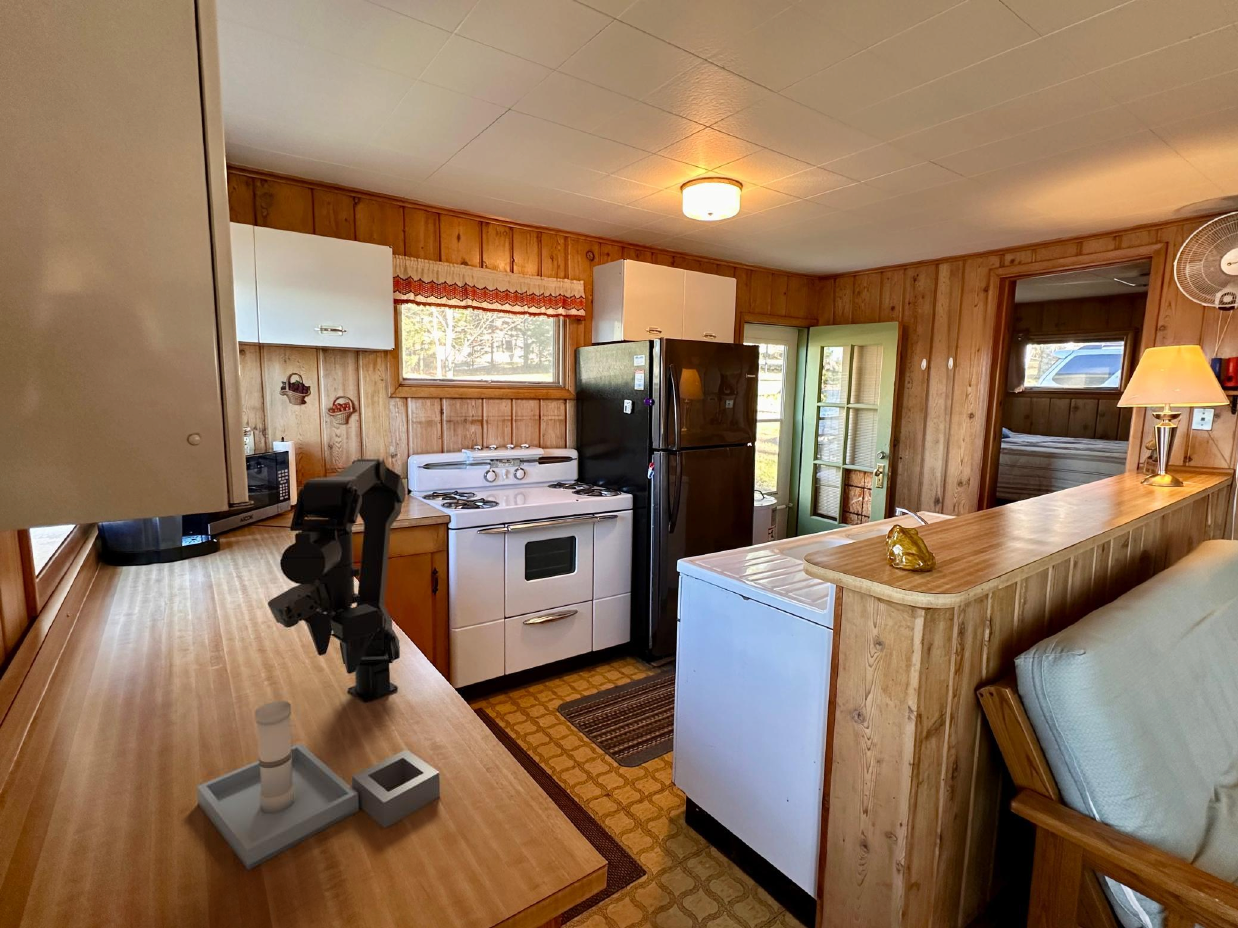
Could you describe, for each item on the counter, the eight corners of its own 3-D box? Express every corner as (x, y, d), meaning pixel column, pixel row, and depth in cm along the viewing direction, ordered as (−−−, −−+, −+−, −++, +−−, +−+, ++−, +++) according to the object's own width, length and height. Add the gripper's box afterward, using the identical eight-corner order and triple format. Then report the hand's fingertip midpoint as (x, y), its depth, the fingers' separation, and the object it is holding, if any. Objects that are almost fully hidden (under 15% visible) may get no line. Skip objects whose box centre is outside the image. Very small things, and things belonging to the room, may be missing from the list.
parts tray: (198, 803, 80) (196, 785, 79) (300, 758, 90) (300, 742, 89) (248, 869, 69) (247, 849, 69) (358, 810, 79) (358, 792, 79)
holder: (352, 800, 81) (352, 775, 81) (407, 771, 87) (406, 749, 87) (384, 828, 76) (383, 802, 76) (439, 796, 82) (439, 772, 82)
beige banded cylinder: (262, 797, 80) (257, 704, 79) (296, 789, 82) (292, 698, 80) (258, 816, 77) (252, 719, 75) (293, 808, 78) (289, 713, 77)
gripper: (248, 562, 90) (253, 662, 92) (304, 589, 78) (309, 704, 80) (324, 548, 98) (327, 640, 100) (384, 571, 87) (387, 675, 89)
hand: (336, 663), depth 92 cm, fingers open, 9 cm apart
